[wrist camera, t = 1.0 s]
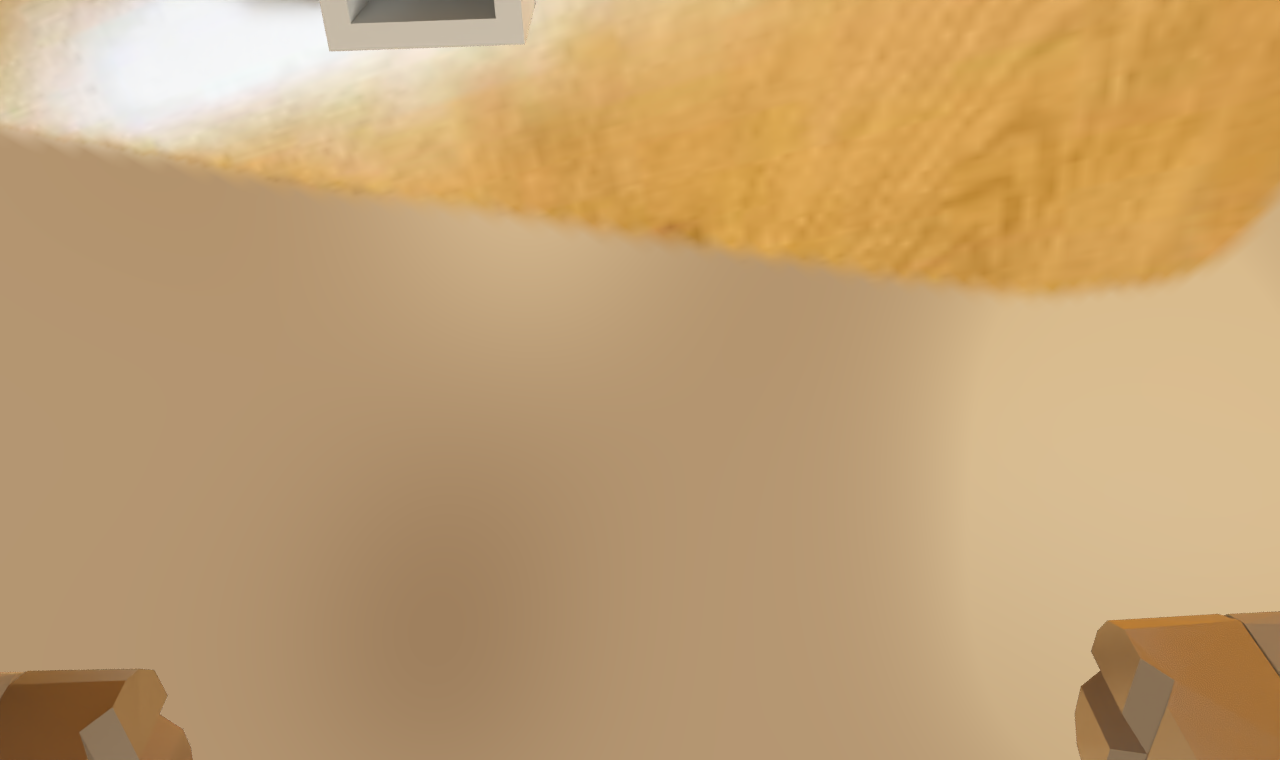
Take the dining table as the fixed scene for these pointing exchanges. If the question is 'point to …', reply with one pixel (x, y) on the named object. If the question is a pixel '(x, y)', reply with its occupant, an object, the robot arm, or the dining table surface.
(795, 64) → the dining table surface
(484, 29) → the box
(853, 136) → the dining table surface
